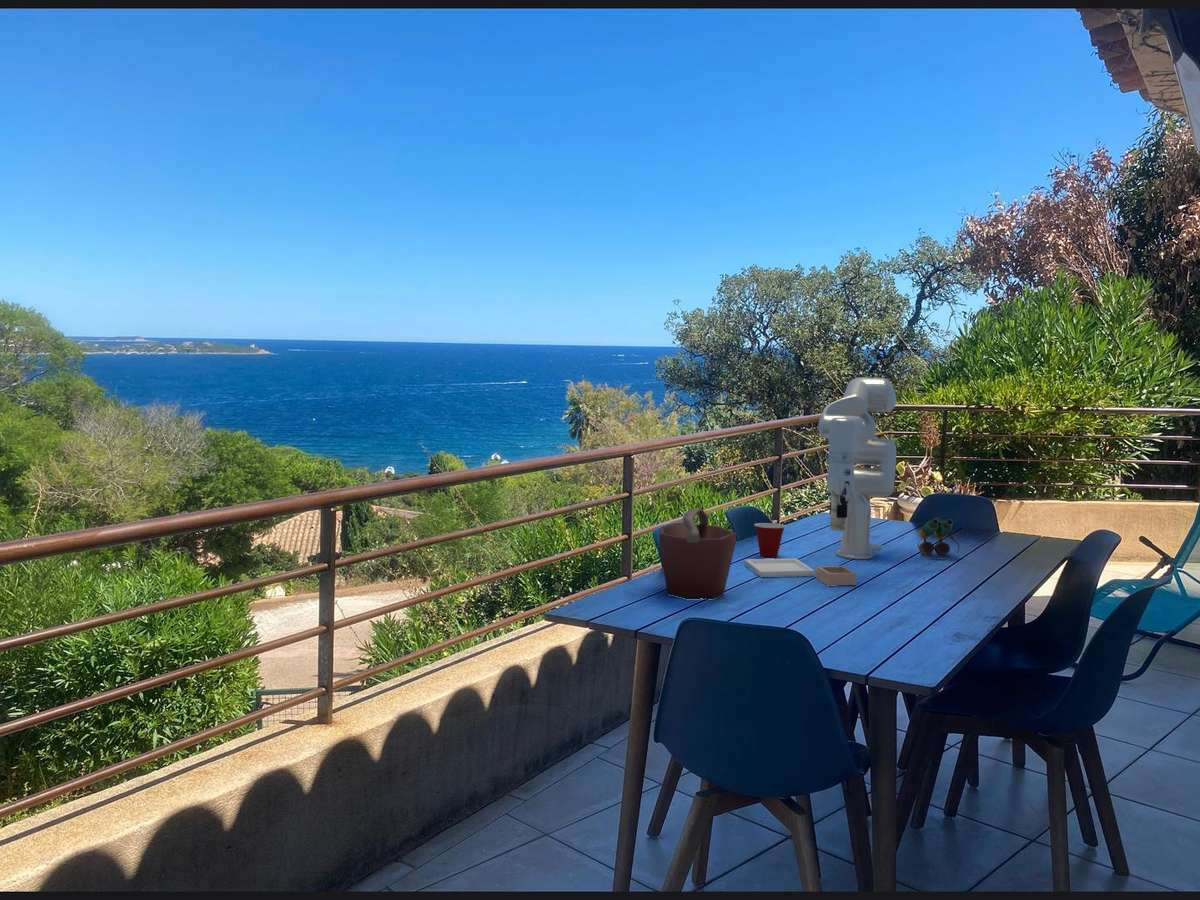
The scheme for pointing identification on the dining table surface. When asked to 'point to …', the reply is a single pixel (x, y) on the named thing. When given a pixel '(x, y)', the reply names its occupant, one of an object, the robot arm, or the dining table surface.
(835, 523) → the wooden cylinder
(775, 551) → the plastic cup
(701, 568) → the bucket
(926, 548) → the binoculars
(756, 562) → the plastic tray
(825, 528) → the dining table surface
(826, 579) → the terracotta holder
